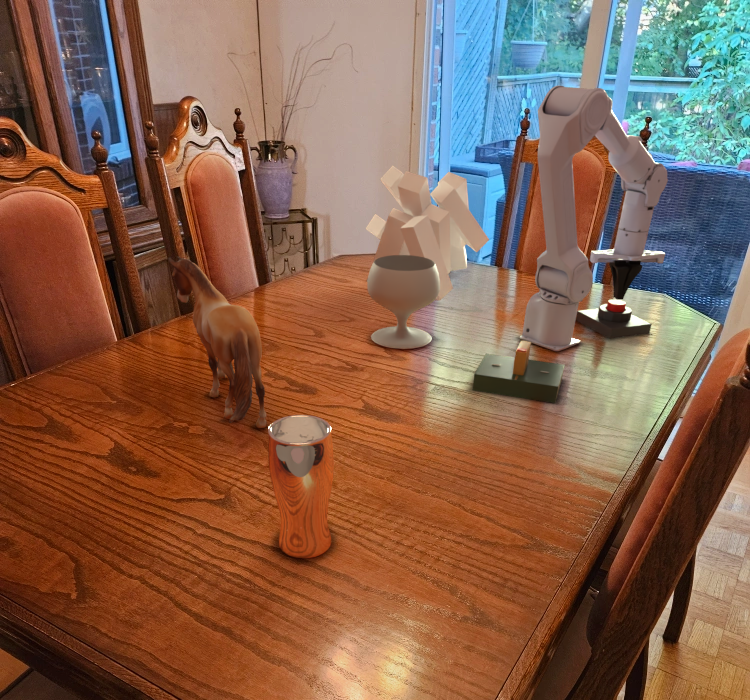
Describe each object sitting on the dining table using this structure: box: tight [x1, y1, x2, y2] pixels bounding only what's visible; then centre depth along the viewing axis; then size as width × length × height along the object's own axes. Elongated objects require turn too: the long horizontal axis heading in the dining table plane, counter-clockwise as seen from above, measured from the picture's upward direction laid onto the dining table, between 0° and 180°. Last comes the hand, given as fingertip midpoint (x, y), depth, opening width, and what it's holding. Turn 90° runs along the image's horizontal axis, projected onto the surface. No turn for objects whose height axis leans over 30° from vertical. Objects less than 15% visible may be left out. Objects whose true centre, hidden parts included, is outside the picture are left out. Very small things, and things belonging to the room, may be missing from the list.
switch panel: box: [472, 353, 565, 404], centre depth 115 cm, size 14×10×3 cm
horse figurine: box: [167, 256, 267, 429], centre depth 101 cm, size 31×8×21 cm, turn 26°
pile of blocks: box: [365, 165, 490, 301], centre depth 159 cm, size 35×30×35 cm
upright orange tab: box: [513, 340, 532, 375], centre depth 113 cm, size 6×2×4 cm, turn 161°
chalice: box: [366, 255, 440, 350], centre depth 129 cm, size 14×14×15 cm
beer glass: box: [267, 414, 335, 559], centre depth 74 cm, size 7×7×15 cm
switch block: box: [575, 303, 652, 340], centre depth 141 cm, size 12×10×4 cm
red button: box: [606, 299, 627, 312], centre depth 139 cm, size 4×4×2 cm
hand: (618, 298), depth 138 cm, fingers closed
